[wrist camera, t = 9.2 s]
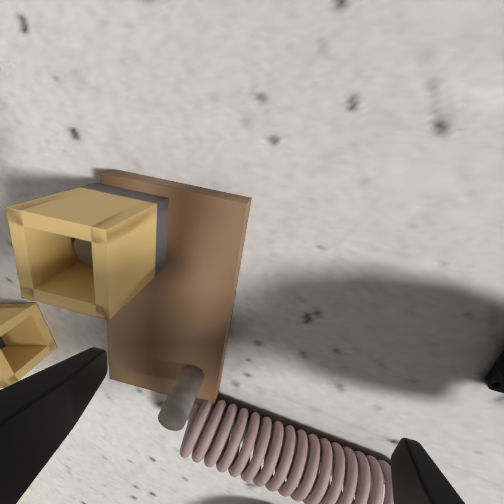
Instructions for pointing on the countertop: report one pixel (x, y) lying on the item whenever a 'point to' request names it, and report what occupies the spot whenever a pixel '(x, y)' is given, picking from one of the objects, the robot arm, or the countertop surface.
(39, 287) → the loose sleeve
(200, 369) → the pin board
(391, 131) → the countertop surface
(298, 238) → the countertop surface
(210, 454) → the coil
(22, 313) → the tan angular part
